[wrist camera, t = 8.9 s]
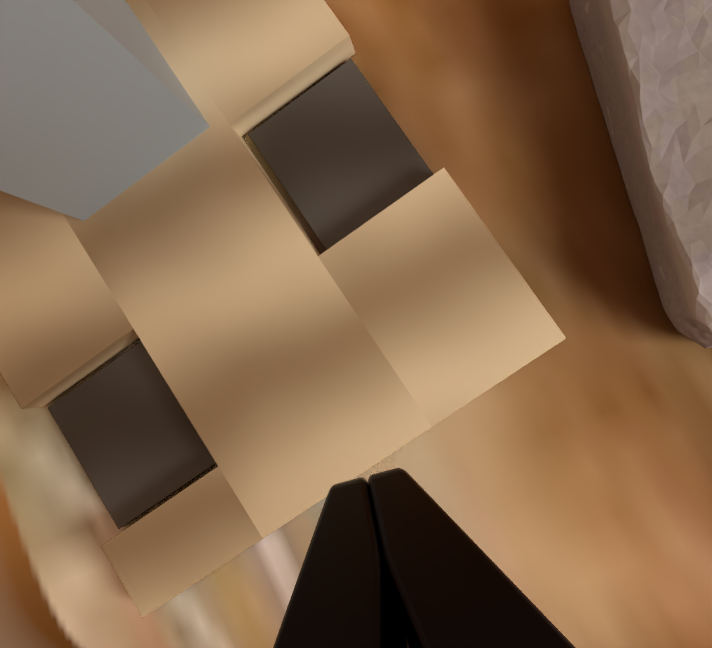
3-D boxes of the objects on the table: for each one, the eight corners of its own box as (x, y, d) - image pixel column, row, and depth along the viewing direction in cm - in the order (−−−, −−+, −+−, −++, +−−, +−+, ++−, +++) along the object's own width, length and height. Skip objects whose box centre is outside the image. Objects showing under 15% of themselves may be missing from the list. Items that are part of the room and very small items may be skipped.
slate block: (209, 126, 21) (21, -48, 12) (83, 221, 21) (-189, 121, 12) (127, 3, 21) (-110, -249, 12) (6, 97, 22) (-305, -81, 13)
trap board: (559, 339, 20) (578, 335, 17) (159, 603, 21) (108, 645, 18) (203, -160, 23) (161, -245, 19) (-131, 106, 24) (-221, 68, 21)
